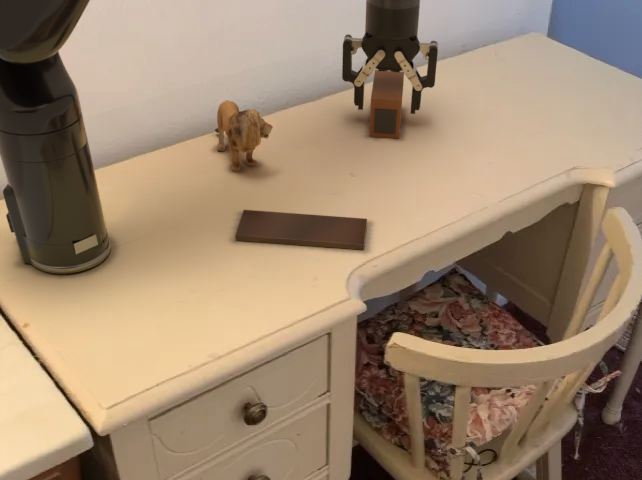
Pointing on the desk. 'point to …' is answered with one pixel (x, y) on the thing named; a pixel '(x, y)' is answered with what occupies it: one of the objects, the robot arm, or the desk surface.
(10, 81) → the robot arm
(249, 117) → the lion figurine
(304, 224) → the walnut board
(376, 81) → the brown cardboard box
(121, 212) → the desk surface
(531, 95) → the desk surface
